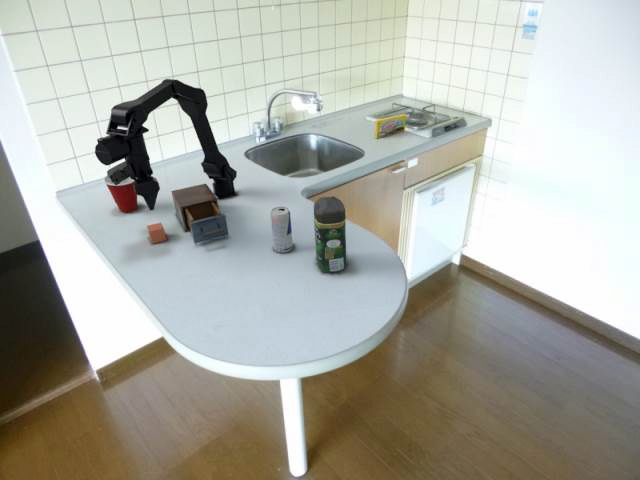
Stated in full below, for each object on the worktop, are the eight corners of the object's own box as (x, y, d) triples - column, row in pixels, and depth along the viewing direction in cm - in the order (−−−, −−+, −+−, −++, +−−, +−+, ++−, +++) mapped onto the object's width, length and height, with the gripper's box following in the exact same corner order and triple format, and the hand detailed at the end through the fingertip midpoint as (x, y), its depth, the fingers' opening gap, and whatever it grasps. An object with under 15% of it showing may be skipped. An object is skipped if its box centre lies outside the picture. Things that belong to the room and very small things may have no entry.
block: (163, 234, 143) (161, 222, 141) (166, 240, 140) (163, 228, 138) (149, 237, 141) (146, 225, 139) (152, 244, 138) (149, 231, 136)
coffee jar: (314, 255, 129) (311, 195, 120) (342, 252, 130) (341, 192, 120) (318, 275, 121) (315, 212, 111) (348, 272, 122) (348, 209, 112)
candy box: (376, 139, 209) (377, 121, 205) (374, 138, 211) (374, 120, 207) (405, 132, 216) (406, 114, 212) (402, 131, 218) (403, 113, 213)
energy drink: (295, 244, 135) (292, 207, 128) (288, 254, 130) (285, 216, 124) (278, 242, 136) (275, 205, 130) (271, 251, 132) (267, 214, 126)
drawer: (233, 241, 136) (230, 221, 132) (198, 251, 132) (194, 230, 129) (217, 217, 149) (213, 198, 145) (185, 225, 145) (181, 206, 142)
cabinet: (221, 222, 148) (217, 198, 144) (185, 231, 144) (180, 207, 139) (210, 206, 158) (205, 183, 154) (176, 214, 154) (171, 191, 150)
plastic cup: (135, 217, 153) (126, 184, 147) (106, 215, 155) (95, 182, 149) (152, 202, 162) (143, 170, 156) (124, 201, 164) (115, 169, 158)
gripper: (101, 147, 131) (116, 198, 139) (107, 169, 116) (123, 224, 124) (142, 140, 135) (154, 189, 143) (153, 160, 120) (166, 214, 128)
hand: (149, 203), depth 134 cm, fingers open, 9 cm apart
